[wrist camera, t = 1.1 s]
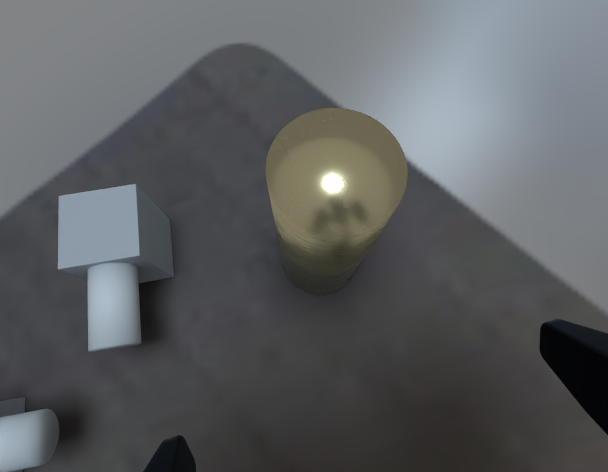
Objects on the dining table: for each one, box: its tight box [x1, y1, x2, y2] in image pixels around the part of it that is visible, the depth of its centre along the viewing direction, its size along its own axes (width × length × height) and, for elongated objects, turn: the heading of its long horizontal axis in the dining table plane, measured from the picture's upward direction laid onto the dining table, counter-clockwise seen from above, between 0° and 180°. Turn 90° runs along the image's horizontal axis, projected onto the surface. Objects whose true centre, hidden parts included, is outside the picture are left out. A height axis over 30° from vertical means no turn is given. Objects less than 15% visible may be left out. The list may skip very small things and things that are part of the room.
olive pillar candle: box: [266, 108, 407, 295], centre depth 19 cm, size 5×5×12 cm
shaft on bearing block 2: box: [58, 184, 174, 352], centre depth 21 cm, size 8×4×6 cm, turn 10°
